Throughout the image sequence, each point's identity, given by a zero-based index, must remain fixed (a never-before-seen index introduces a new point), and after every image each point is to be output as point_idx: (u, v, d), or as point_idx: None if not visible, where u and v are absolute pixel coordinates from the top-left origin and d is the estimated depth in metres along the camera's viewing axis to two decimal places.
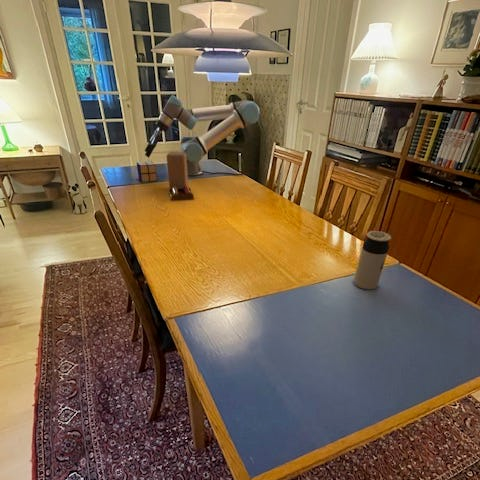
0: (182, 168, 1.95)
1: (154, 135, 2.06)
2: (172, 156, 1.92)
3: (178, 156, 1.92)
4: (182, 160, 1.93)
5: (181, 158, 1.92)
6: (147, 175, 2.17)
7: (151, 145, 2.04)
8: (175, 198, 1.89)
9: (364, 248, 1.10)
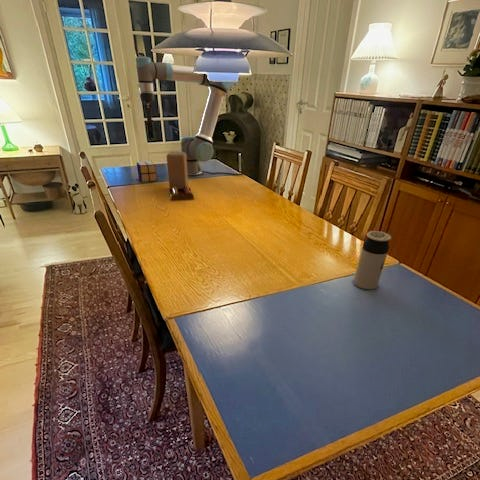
0: (182, 168, 1.95)
1: None
2: (172, 156, 1.92)
3: (178, 156, 1.92)
4: (182, 160, 1.93)
5: (181, 158, 1.92)
6: (147, 175, 2.17)
7: (148, 123, 1.88)
8: (175, 198, 1.89)
9: (364, 248, 1.10)
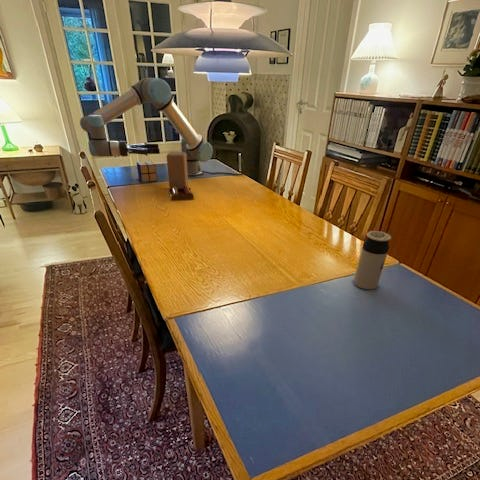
0: (182, 168, 1.95)
1: None
2: (172, 156, 1.92)
3: (178, 156, 1.92)
4: (182, 160, 1.93)
5: (181, 158, 1.92)
6: (147, 175, 2.17)
7: (146, 153, 1.84)
8: (175, 198, 1.89)
9: (364, 248, 1.10)
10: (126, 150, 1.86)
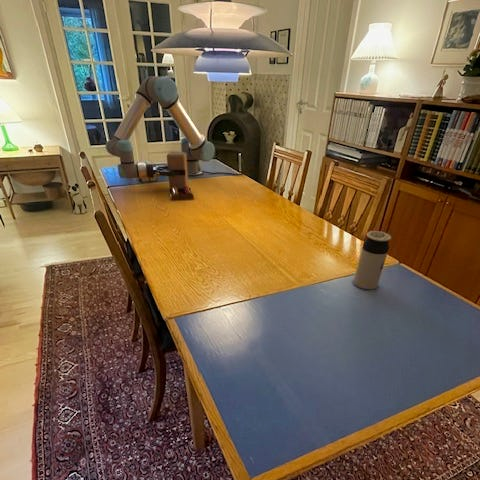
0: (182, 168, 1.95)
1: None
2: (172, 156, 1.92)
3: (178, 156, 1.92)
4: (182, 160, 1.93)
5: (181, 158, 1.92)
6: None
7: (173, 174, 1.94)
8: (175, 198, 1.89)
9: (364, 248, 1.10)
10: (153, 172, 1.95)
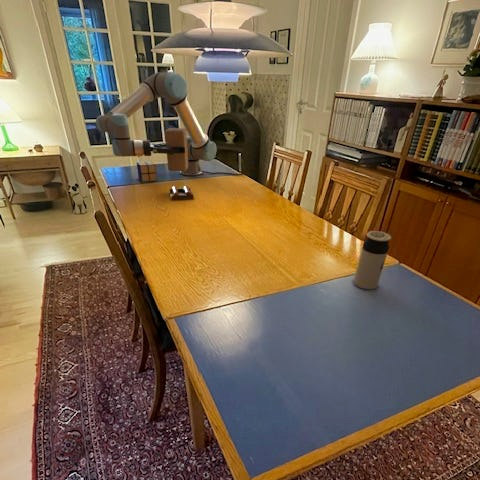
0: (181, 145, 1.81)
1: None
2: (171, 132, 1.78)
3: (177, 132, 1.78)
4: (182, 136, 1.79)
5: (180, 134, 1.78)
6: (147, 175, 2.17)
7: (172, 152, 1.80)
8: (175, 198, 1.89)
9: (364, 248, 1.10)
10: (150, 150, 1.81)
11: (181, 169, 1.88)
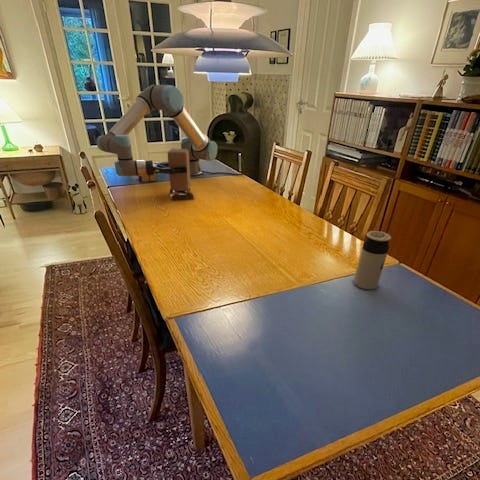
0: (184, 166, 1.82)
1: None
2: (173, 153, 1.79)
3: (180, 153, 1.78)
4: (184, 157, 1.80)
5: (183, 155, 1.79)
6: (147, 175, 2.17)
7: None
8: (175, 198, 1.89)
9: (364, 248, 1.10)
10: (153, 169, 1.81)
11: (184, 189, 1.89)
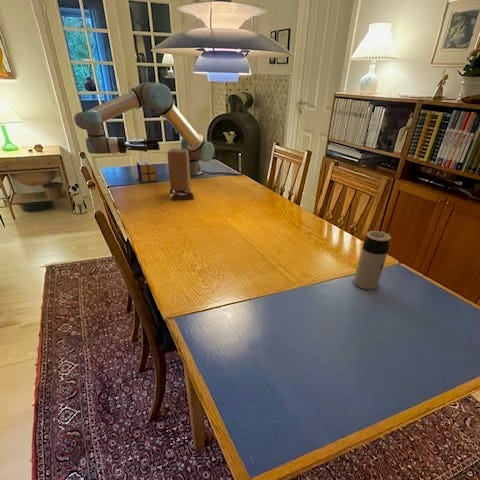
0: (184, 166, 1.82)
1: None
2: (173, 153, 1.79)
3: (180, 153, 1.78)
4: (184, 157, 1.80)
5: (183, 155, 1.79)
6: (147, 175, 2.17)
7: (145, 149, 1.78)
8: (175, 198, 1.89)
9: (364, 248, 1.10)
10: (125, 147, 1.79)
11: (184, 189, 1.89)
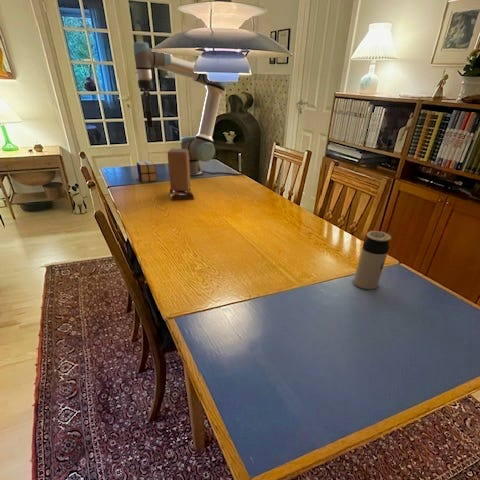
0: (184, 166, 1.82)
1: (144, 100, 1.82)
2: (173, 153, 1.79)
3: (180, 153, 1.78)
4: (184, 157, 1.80)
5: (183, 155, 1.79)
6: (147, 175, 2.17)
7: (147, 112, 1.82)
8: (175, 198, 1.89)
9: (364, 248, 1.10)
10: (145, 88, 1.80)
11: (184, 189, 1.89)
